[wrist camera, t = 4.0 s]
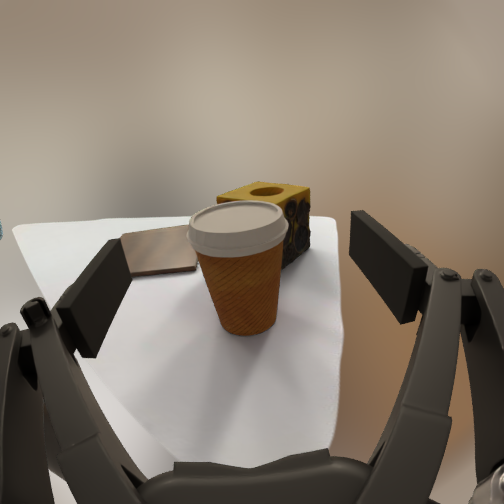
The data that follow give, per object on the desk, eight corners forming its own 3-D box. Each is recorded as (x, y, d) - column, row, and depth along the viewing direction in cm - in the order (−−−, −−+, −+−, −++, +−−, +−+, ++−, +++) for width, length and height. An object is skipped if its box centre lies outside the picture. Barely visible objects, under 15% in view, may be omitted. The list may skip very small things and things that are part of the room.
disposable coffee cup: (197, 345, 28) (169, 238, 23) (215, 293, 37) (199, 202, 31) (291, 346, 27) (289, 232, 22) (290, 291, 35) (286, 196, 30)
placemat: (91, 281, 42) (90, 276, 42) (124, 237, 58) (123, 233, 58) (196, 270, 42) (195, 265, 42) (204, 226, 58) (204, 222, 58)
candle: (221, 258, 45) (212, 196, 40) (260, 235, 52) (256, 180, 47) (276, 276, 39) (272, 204, 34) (312, 247, 46) (311, 186, 41)
